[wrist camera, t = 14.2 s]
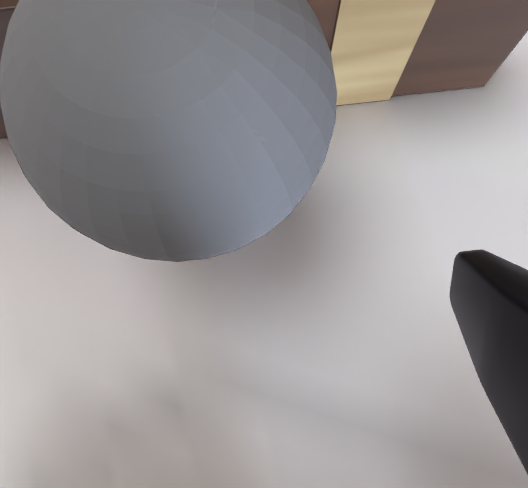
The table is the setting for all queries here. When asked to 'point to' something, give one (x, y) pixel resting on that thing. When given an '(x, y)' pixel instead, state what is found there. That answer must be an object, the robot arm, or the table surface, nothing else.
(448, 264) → the table surface
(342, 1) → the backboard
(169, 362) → the table surface
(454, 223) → the table surface
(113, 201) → the light bulb
